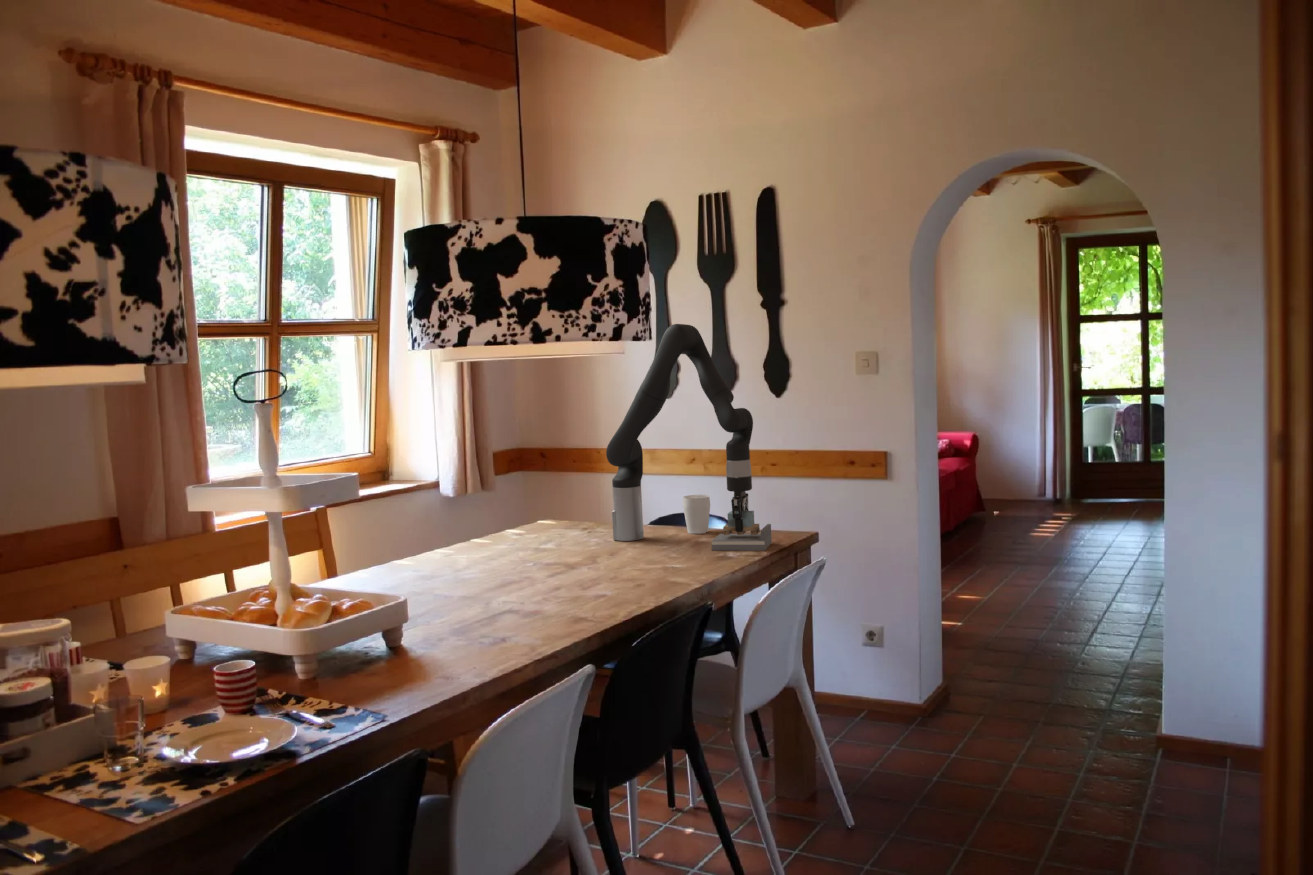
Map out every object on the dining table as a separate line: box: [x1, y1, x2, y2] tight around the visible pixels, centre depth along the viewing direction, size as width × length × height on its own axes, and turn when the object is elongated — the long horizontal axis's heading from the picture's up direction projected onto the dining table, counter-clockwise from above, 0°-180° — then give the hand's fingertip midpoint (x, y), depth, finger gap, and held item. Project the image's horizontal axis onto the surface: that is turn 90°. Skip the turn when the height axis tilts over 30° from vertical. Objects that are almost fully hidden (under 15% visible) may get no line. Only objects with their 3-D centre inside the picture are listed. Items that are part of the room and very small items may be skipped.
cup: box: [682, 494, 711, 535], centre depth 350 cm, size 9×9×12 cm
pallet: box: [722, 510, 761, 535], centre depth 320 cm, size 10×6×6 cm, turn 74°
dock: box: [711, 523, 773, 552], centre depth 320 cm, size 16×12×6 cm
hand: (741, 529), depth 320 cm, fingers closed on pallet, 5 cm apart
